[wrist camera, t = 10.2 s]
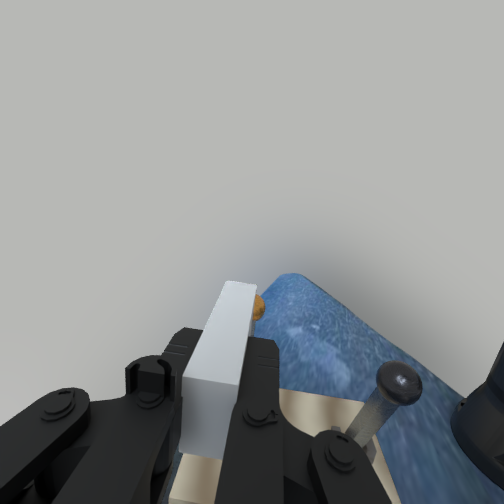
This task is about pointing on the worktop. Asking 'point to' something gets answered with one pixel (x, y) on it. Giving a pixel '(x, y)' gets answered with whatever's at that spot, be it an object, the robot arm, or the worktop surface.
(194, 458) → the switch board
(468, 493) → the worktop surface
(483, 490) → the worktop surface
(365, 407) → the black knob lever
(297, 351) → the worktop surface
